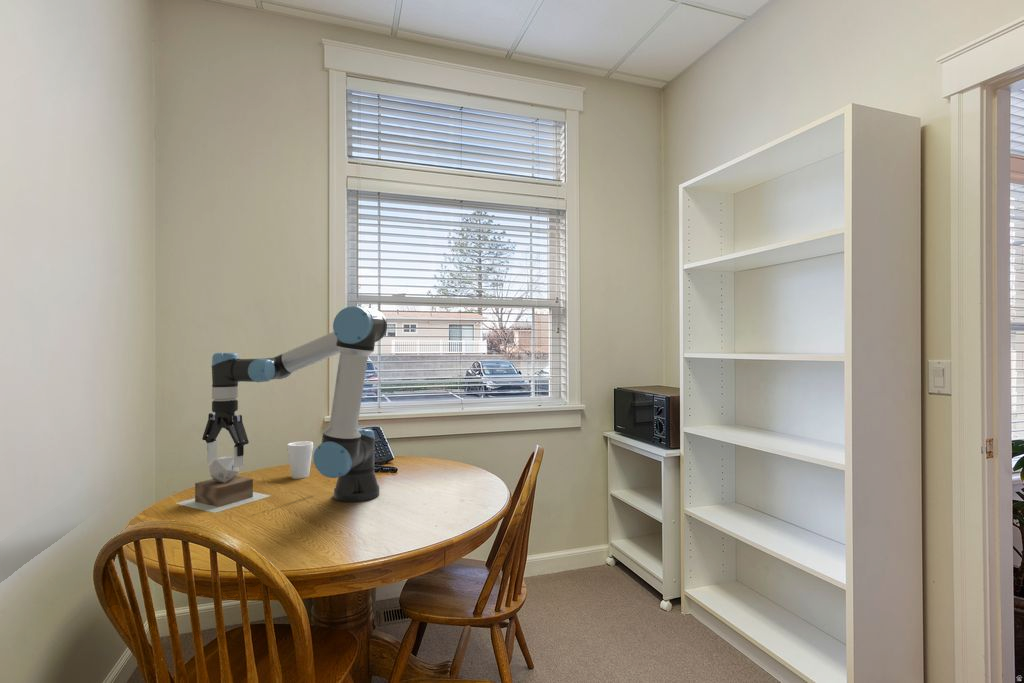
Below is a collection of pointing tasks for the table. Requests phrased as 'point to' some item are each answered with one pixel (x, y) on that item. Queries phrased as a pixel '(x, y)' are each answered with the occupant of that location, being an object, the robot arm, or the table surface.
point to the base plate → (216, 509)
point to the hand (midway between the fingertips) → (225, 464)
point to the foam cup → (300, 458)
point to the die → (223, 469)
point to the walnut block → (223, 491)
